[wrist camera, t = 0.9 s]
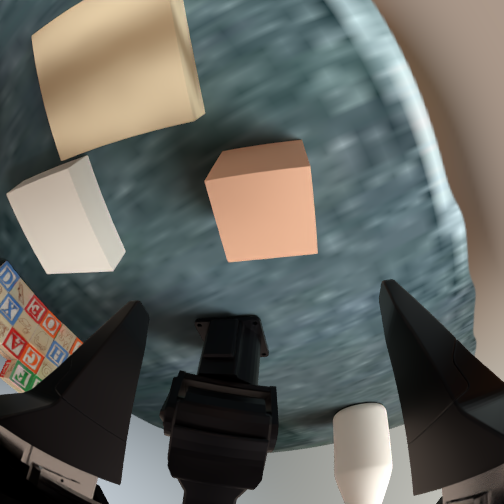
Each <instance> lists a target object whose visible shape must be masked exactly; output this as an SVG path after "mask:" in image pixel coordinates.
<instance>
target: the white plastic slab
mask: <svg viewBox="0 0 504 504" xmlns="http://www.w3.org/2000/svg"><path fill="white" fill-rule="evenodd" d="M7 197H8V199H9V202H10V204H11V206H12V208H13V211H14V213H15V215H16V217H17V219H18V221H19V223H20V225H21V227H22V229H23V231H24V233H25V235H26V237H27V239H28V241H29V243H30V245H31V247H32V249H33V250H34V252H35V254H36V256H37V258H38V259H39V261H40V263H41V265H42V266H43V268H44V270H45V271H46V273H47V274H58V273H84V272H107V271H114V269H115V267H116V266H117V264H118V263H119V261H120V260H121V258H122V257H123V255H124V254H125V252H126V251H125V249H124V247H123V244H122V242H121V240H120V238H119V235H118V233H117V231H116V228H115V226H114V224H113V221H112V219H111V217H110V214H109V212H108V209H107V207H106V204H105V202H104V199H103V196H102V194H101V191H100V189H99V186H98V183H97V180H96V178H95V175H94V172H93V169H92V166H91V163H90V160H89V157H88V155H87V156H84V157H81V158H78V159H75V160H73V161H70V162H67V163H65V164H62V165H59V166H57V167H54V168H52V169H49V170H47V171H45V172H42V173H40V174H38V175H35V176H33V177H31V178H28V179H26V180H24V181H23V182H21V183H20V184H19V185H17V186H16V187H15V188H13V189H12V190H11V191H9V192H8V193H7Z"/></svg>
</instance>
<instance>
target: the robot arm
mask: <svg viewBox="0 0 504 504" xmlns="http://www.w3.org/2000/svg"><path fill="white" fill-rule="evenodd" d="M379 304H380V310H381V315H382V321H383V327H384V334H385V340H386V344H387V348H388V352H389V356H390V360H391V364H392V368H393V372H394V376H395V381H396V385H397V389H398V394H399V399H400V404H401V409H402V414H403V419H404V425H405V430H406V436H407V443H408V450H409V457H410V466H411V474H412V484H413V494H414V496H415V495H419V494H423V493H427V492H430V491H434V490H437V489H441V488H442V495H443V496H442V497H441V498H440V499H439V501H438V502H437V503H436V504H504V382H503V381H502V380H501V379H500V378H498V377H497V376H496V375H495V374H494V373H493V372H492V371H490V370H489V369H488V368H487V367H486V366H484V365H483V364H482V363H481V362H480V361H479V360H478V359H477V358H476V357H475V356H473V355H472V354H471V353H470V352H469V351H468V350H467V349H466V348H465V347H464V346H463V345H462V344H461V343H460V342H459V341H458V340H456V338H455V337H454V336H453V335H452V334H451V333H450V332H449V331H448V330H447V329H446V328H445V327H444V326H443V325H442V324H441V323H440V322H439V321H438V320H437V319H436V318H435V317H434V316H433V315H432V314H431V313H430V312H429V311H428V310H427V309H426V308H424V307H423V306H422V305H421V304H420V303H419V302H418V301H417V300H416V299H415V298H414V297H413V296H411V295H410V294H409V293H408V292H407V291H406V290H405V289H404V288H403V287H402V286H400V285H399V284H398V283H397V282H396V281H395V280H393V279H390V280H383V281H382V283H381V289H380V295H379ZM254 321H255V322H254ZM148 324H149V315H148V313H147V311H146V310H145V308H144V306H143V305H142V303H141V302H140V301H129V302H128V303H127V304H126V305H125V306H124V307H123V308H121V309H120V310H119V311H118V312H117V313H116V314H115V315H114V316H113V317H111V318H110V319H109V320H108V321H107V322H106V323H105V324H104V325H103V326H101V327H100V328H99V329H98V330H97V331H96V332H95V333H94V334H93V335H92V336H91V337H90V338H88V339H87V340H86V341H85V342H84V343H83V344H82V345H81V346H80V347H79V348H78V349H77V350H76V351H75V352H73V353H72V355H70V356H69V357H68V358H67V359H66V360H65V361H64V362H63V363H62V364H61V365H60V366H59V367H57V368H56V369H55V370H54V371H53V372H52V373H50V374H49V375H48V376H47V377H46V378H44V379H43V380H42V381H41V382H40V383H38V384H37V385H36V386H35V387H34V388H32V389H31V390H29V391H27V392H23V393H15V394H4V395H0V504H109V503H108V501H107V499H106V497H105V496H104V494H103V492H102V490H101V488H100V486H99V485H97V484H96V483H97V479H98V477H99V478H101V479H104V480H107V481H109V482H112V483H115V484H118V485H120V484H121V478H122V470H123V462H124V455H125V449H126V441H127V435H128V429H129V424H130V418H131V413H132V407H133V402H134V397H135V392H136V388H137V383H138V378H139V374H140V369H141V365H142V361H143V356H144V351H145V344H146V337H147V330H148ZM195 327H196V329H197V331H198V332H199V334H200V336H201V338H202V340H203V342H204V345H203V349H202V354H201V358H200V362H199V367H198V371H197V375H195V374H190V373H186V372H185V371H181V370H180V371H179V374H178V377H174V378H173V381H172V385H171V389H170V392H169V394H168V397H167V399H166V401H165V403H164V405H163V407H162V409H161V411H160V418H161V419H162V421H163V426H164V435H166V436H170V442H169V450H168V468H169V470H170V473H171V476H172V477H173V478H177V479H178V481H179V483H180V484H181V486H182V488H183V490H184V497H183V504H236V500H237V498H238V497H240V496H241V495H242V494H243V493H244V492H245V491H246V490H247V489H250V490H254V489H255V488H256V487H257V486H258V484H259V483H260V482H261V480H262V476H263V470H264V466H265V461H266V456H267V452H272V451H273V449H274V447H275V444H276V440H277V435H278V407H277V392H276V387H275V386H270V387H267V386H259V385H258V375H259V363H260V357H266V356H268V355H269V350H268V346H267V343H266V339H265V335H264V331H263V328H262V324H261V320H260V318H258V317H236V318H212V319H196V321H195Z"/></svg>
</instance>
